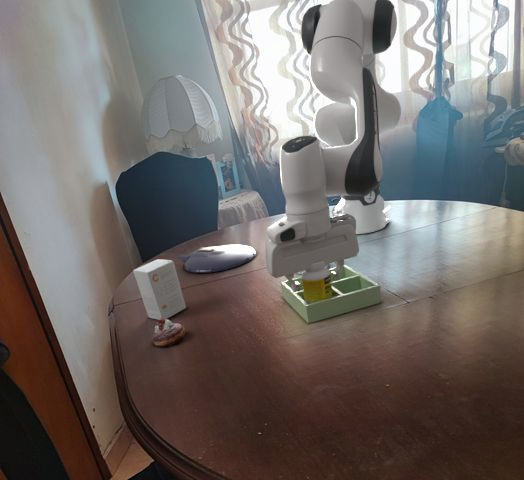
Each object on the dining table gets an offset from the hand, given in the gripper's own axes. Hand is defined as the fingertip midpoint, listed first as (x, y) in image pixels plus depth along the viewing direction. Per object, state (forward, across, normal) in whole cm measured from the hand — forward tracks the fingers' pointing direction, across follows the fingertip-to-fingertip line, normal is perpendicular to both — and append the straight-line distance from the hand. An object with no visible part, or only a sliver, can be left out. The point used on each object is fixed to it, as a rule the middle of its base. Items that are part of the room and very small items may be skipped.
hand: (316, 285), depth 102 cm
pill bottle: (+6, 0, 0) cm, 6 cm away
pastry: (+6, +34, -7) cm, 35 cm away
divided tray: (+6, -4, -4) cm, 8 cm away
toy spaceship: (+7, +13, -58) cm, 60 cm away
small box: (+6, +33, -23) cm, 41 cm away
